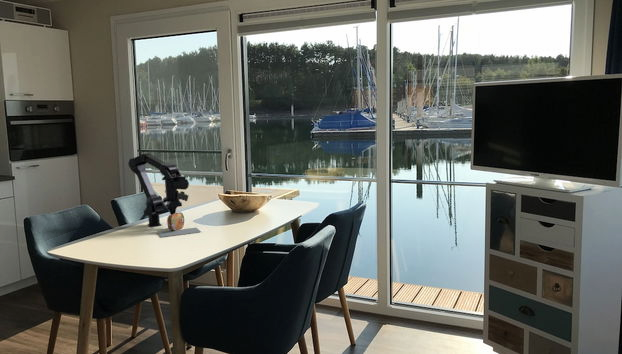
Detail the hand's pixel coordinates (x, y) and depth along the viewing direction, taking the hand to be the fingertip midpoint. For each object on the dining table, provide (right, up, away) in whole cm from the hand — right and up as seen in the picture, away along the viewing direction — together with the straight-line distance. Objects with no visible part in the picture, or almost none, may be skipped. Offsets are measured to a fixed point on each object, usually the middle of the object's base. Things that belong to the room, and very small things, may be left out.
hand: (173, 217), depth 282 cm
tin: (+3, -6, -5) cm, 8 cm away
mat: (+6, -7, -11) cm, 14 cm away
